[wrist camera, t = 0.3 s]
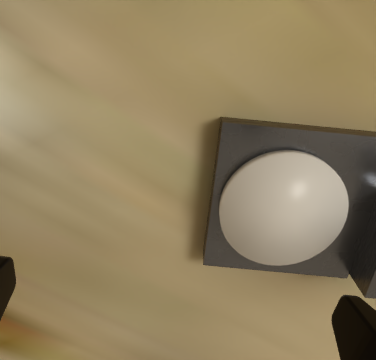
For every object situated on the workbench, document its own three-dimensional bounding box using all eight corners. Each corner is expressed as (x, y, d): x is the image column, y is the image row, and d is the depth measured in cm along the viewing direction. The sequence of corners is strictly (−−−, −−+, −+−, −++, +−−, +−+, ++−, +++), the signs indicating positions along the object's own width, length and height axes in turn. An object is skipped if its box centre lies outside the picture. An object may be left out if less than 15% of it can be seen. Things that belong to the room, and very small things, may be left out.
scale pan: (325, 263, 24) (329, 270, 23) (212, 253, 24) (212, 259, 23) (359, 156, 20) (365, 161, 20) (228, 143, 20) (229, 147, 20)
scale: (359, 267, 26) (386, 305, 22) (203, 253, 26) (203, 288, 22) (410, 135, 21) (453, 155, 18) (221, 116, 21) (226, 132, 18)
